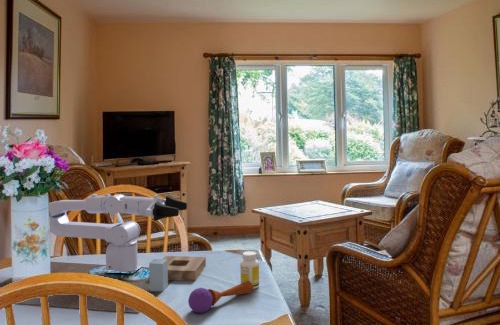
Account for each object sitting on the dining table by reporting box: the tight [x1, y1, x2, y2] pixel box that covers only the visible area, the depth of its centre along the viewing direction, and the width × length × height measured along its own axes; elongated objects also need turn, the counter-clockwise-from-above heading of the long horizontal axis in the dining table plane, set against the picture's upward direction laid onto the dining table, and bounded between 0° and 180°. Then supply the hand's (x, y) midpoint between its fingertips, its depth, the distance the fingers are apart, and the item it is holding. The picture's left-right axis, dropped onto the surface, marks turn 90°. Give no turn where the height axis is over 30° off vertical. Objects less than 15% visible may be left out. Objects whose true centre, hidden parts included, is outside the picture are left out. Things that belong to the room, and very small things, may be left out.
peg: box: [148, 258, 169, 292], centre depth 114 cm, size 4×4×8 cm
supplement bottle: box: [239, 250, 260, 290], centre depth 115 cm, size 5×5×10 cm
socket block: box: [162, 255, 207, 282], centre depth 128 cm, size 14×14×3 cm
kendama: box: [187, 281, 254, 314], centre depth 104 cm, size 6×6×20 cm
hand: (182, 209), depth 125 cm, fingers open, 7 cm apart
